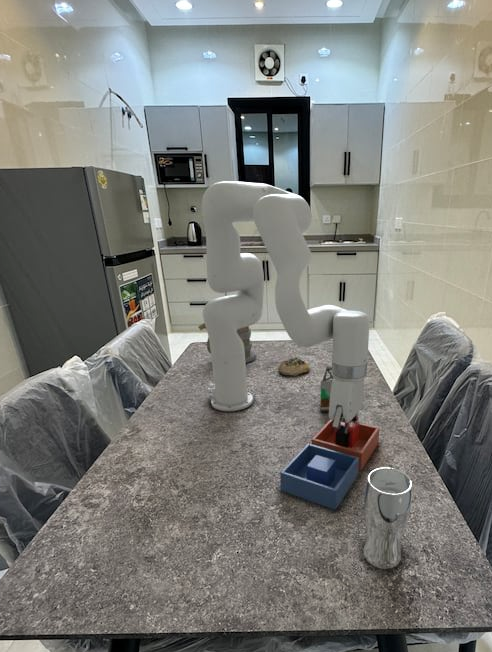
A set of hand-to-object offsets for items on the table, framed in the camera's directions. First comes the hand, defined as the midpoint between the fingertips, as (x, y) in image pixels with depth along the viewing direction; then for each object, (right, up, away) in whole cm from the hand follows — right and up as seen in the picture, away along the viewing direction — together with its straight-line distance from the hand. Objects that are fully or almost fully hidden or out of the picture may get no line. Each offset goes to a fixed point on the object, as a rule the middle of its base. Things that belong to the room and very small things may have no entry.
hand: (346, 439), depth 91 cm
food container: (-1, +7, +23) cm, 24 cm away
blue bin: (-7, -8, -10) cm, 14 cm away
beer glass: (+2, -15, -27) cm, 31 cm away
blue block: (-7, -7, -10) cm, 14 cm away
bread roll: (-13, +18, +48) cm, 53 cm away
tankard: (-39, +23, +61) cm, 75 cm away
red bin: (0, -2, +1) cm, 3 cm away
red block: (0, 0, 0) cm, 0 cm away
